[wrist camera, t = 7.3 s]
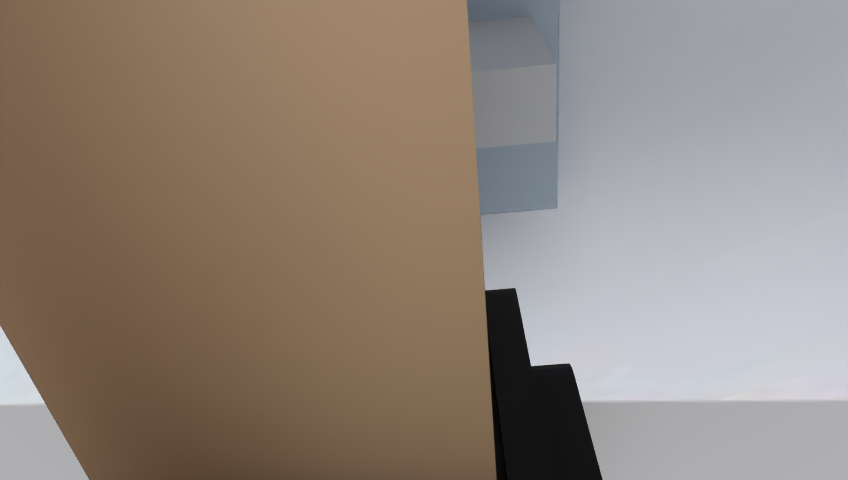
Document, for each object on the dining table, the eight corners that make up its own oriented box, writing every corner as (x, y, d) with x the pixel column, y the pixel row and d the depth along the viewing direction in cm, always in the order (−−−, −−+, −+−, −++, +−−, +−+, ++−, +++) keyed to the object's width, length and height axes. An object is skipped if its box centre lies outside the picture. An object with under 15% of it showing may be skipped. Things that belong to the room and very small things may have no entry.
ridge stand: (553, -173, 22) (598, -167, 17) (551, 191, 30) (581, 284, 24) (205, -133, 23) (130, -113, 17) (289, 213, 31) (256, 309, 25)
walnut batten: (408, -569, 6) (383, -1372, 2) (498, 642, 18) (521, 893, 14) (-7, -507, 6) (-832, -1116, 2) (352, 649, 18) (332, 900, 14)
